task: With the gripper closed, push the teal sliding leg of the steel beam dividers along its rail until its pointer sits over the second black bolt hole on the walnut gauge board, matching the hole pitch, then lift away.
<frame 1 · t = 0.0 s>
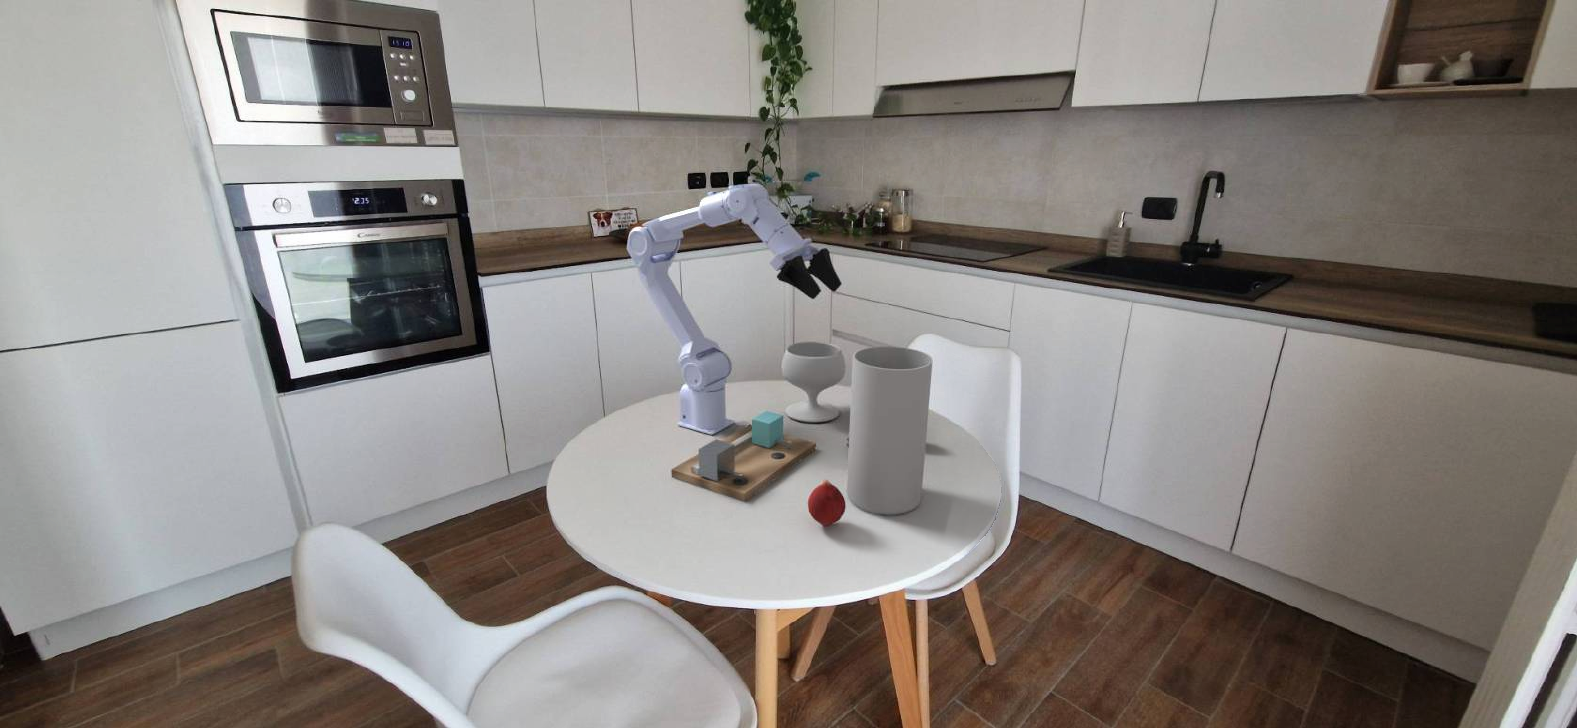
hand: (827, 291, 118), 32 cm above the table, tool tilted 50°, fingers open, 7 cm apart
sliding leg: (775, 431, 129), point 4 cm above the table, slide at 0.0 cm
gauge board: (746, 462, 125), on the table
fixed leg: (717, 481, 118), resting on gauge board
cylinder vase: (883, 498, 113), on the table
onion: (825, 526, 105), on the table
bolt: (884, 451, 132), on the table
chalice: (812, 414, 149), on the table
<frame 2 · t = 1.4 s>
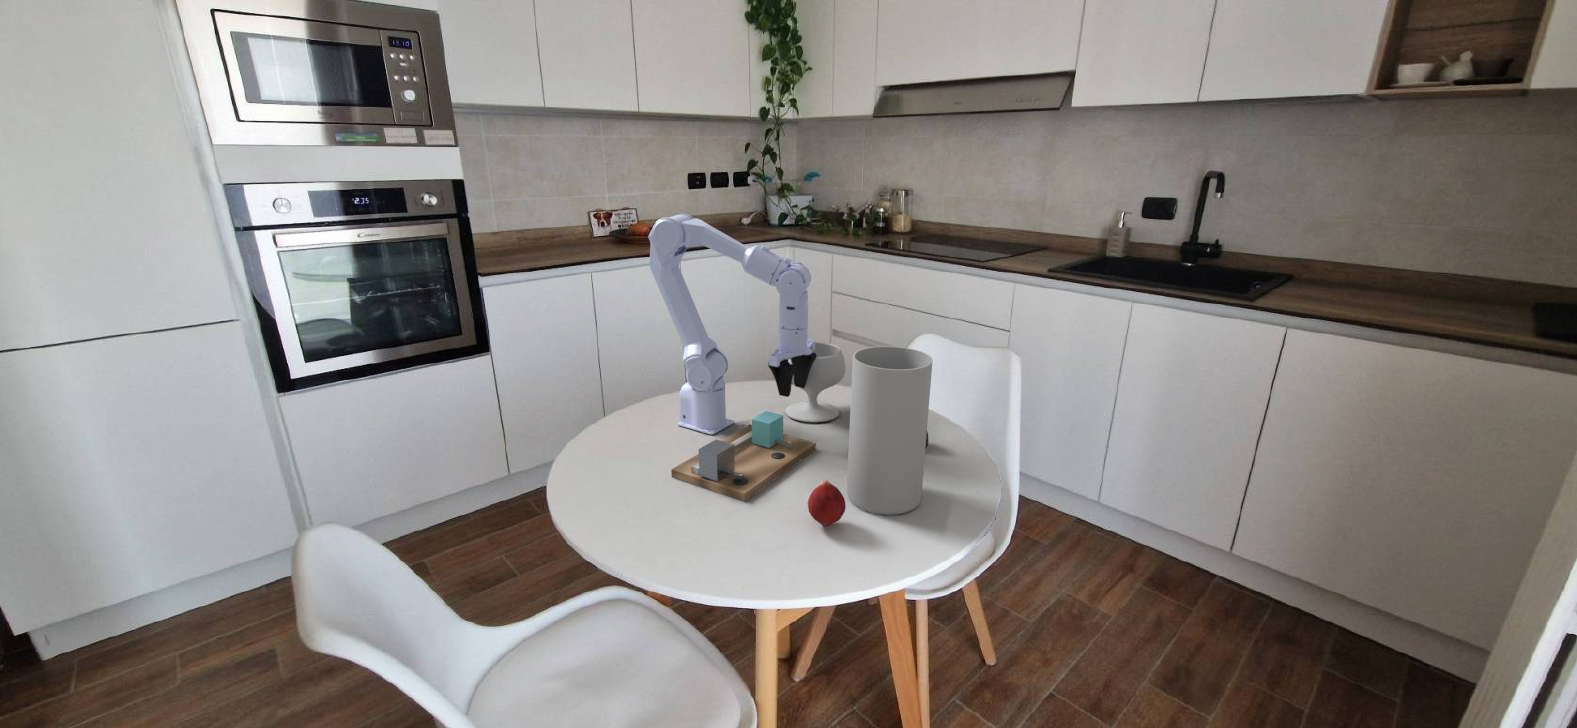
hand: (792, 391, 135), 9 cm above the table, tool pointing down, fingers open, 5 cm apart
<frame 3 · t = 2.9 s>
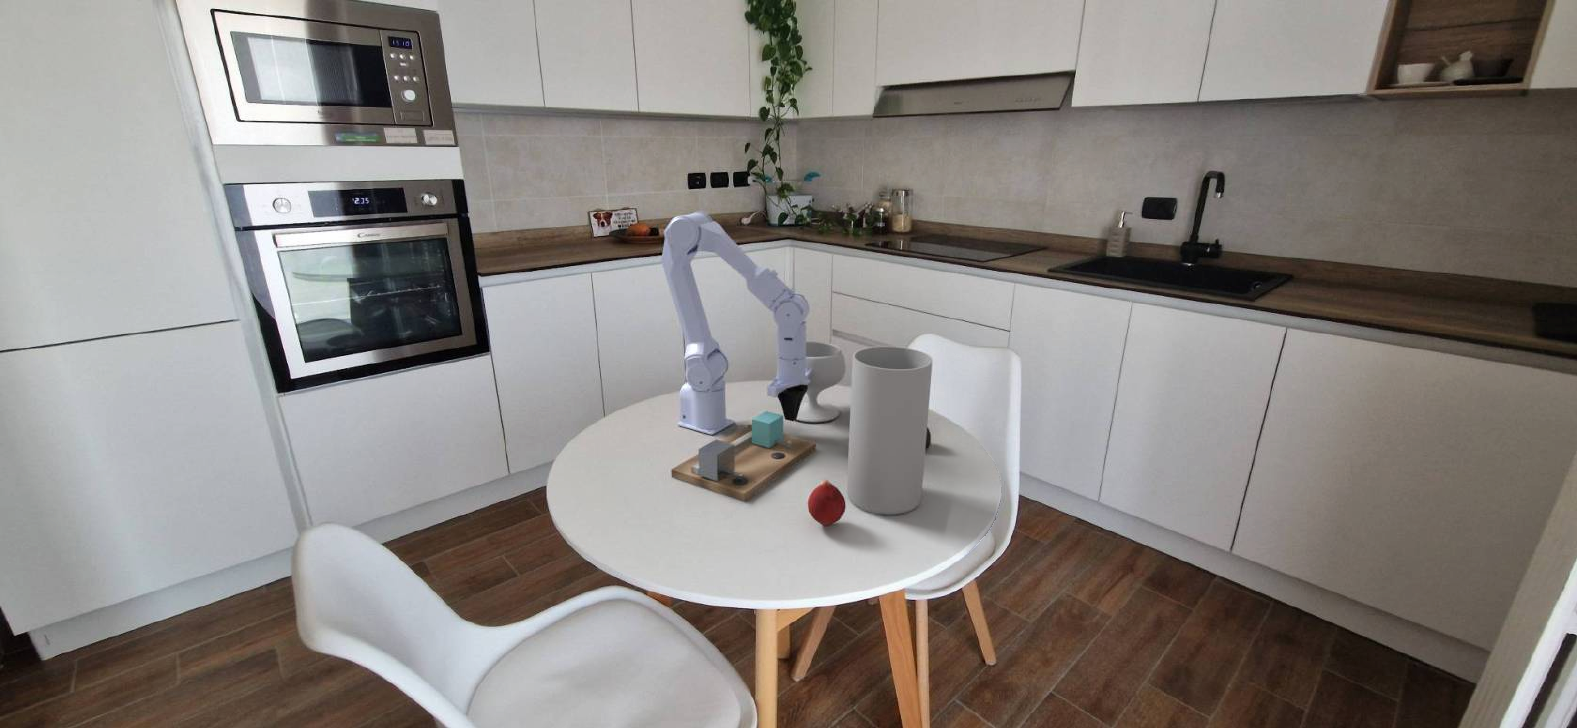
hand: (790, 419, 137), 3 cm above the table, tool pointing down, fingers closed
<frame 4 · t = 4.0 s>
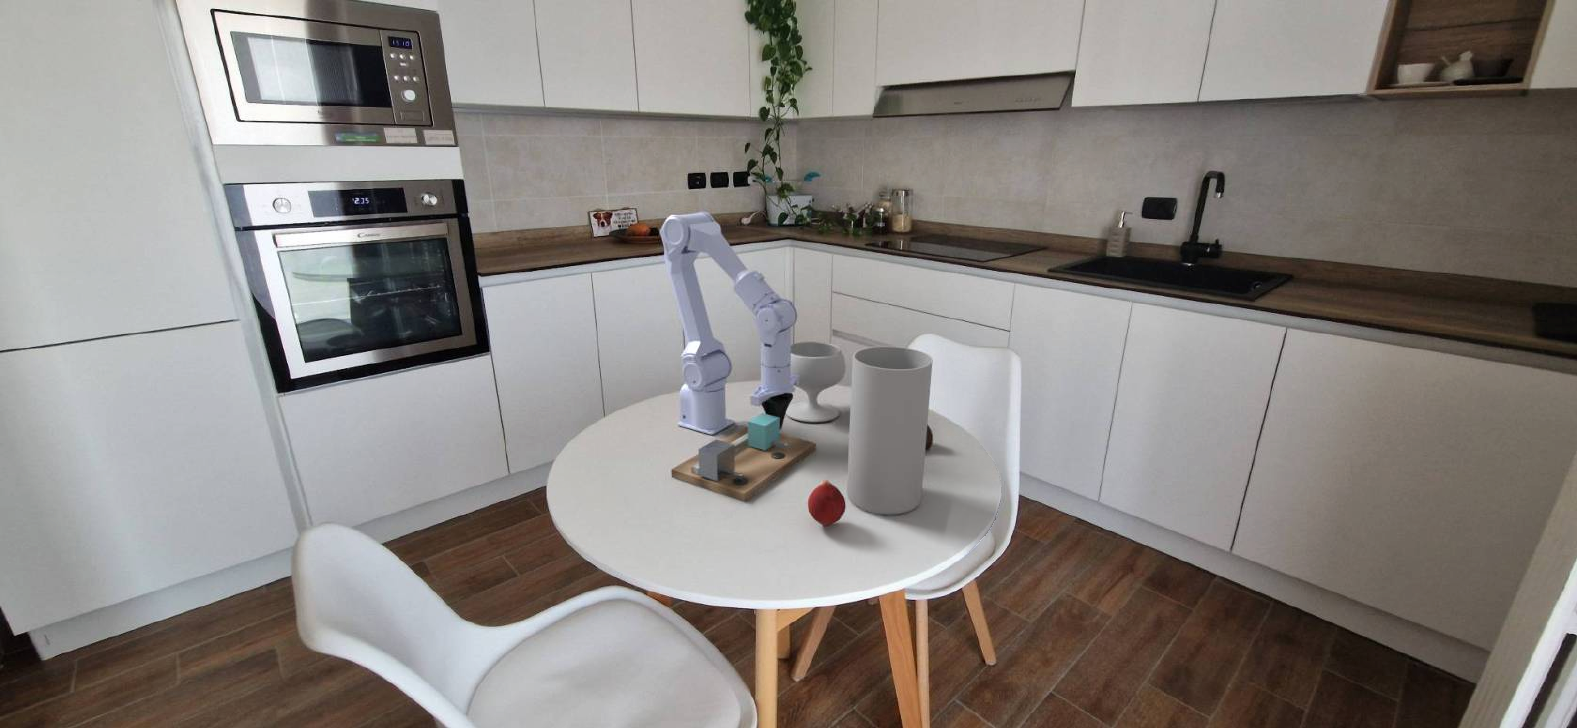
hand: (775, 428, 132), 3 cm above the table, tool pointing down, fingers closed
sliding leg: (771, 433, 127), point 4 cm above the table, slide at 1.3 cm, touching gripper
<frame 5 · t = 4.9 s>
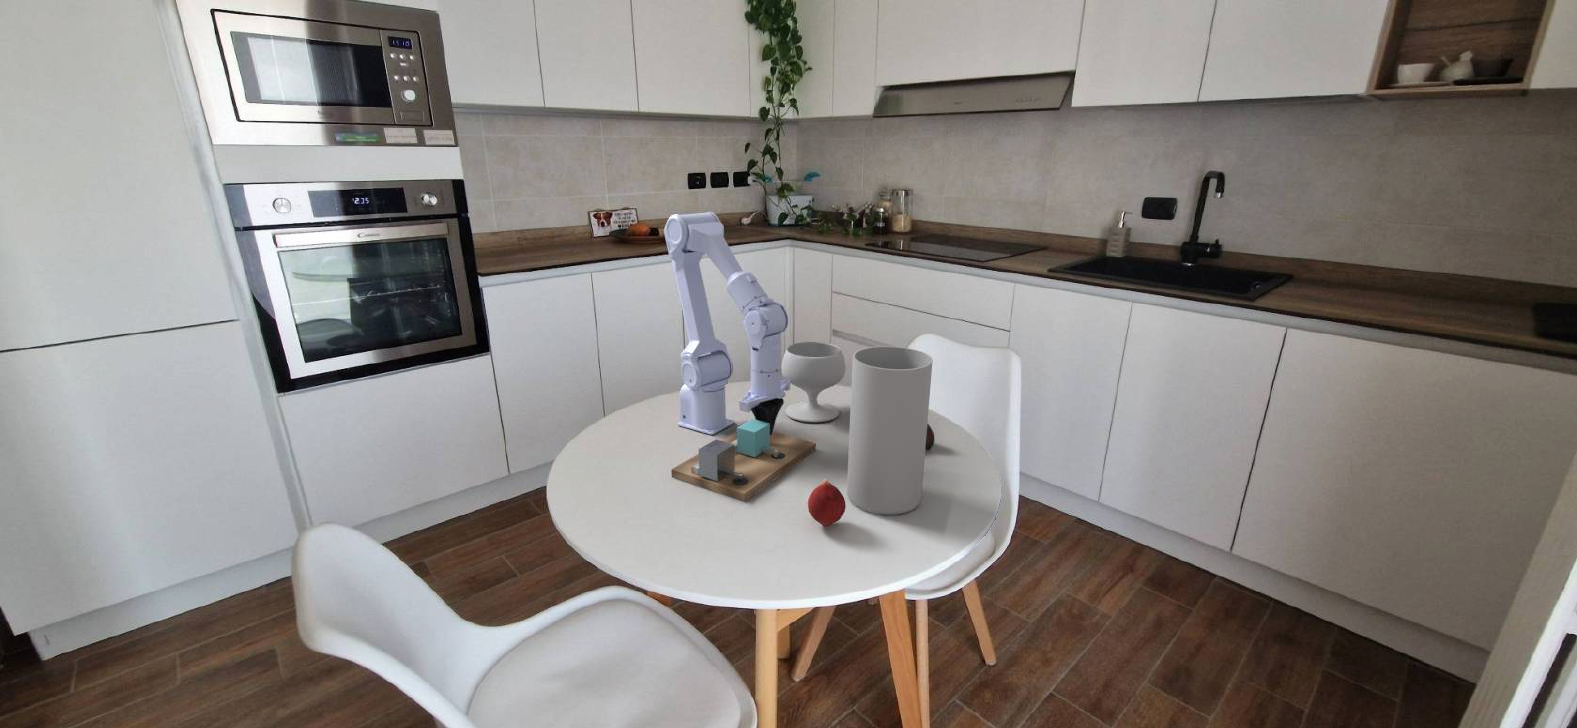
hand: (765, 434, 129), 3 cm above the table, tool pointing down, fingers closed
sliding leg: (761, 439, 125), point 4 cm above the table, slide at 4.8 cm, touching gripper
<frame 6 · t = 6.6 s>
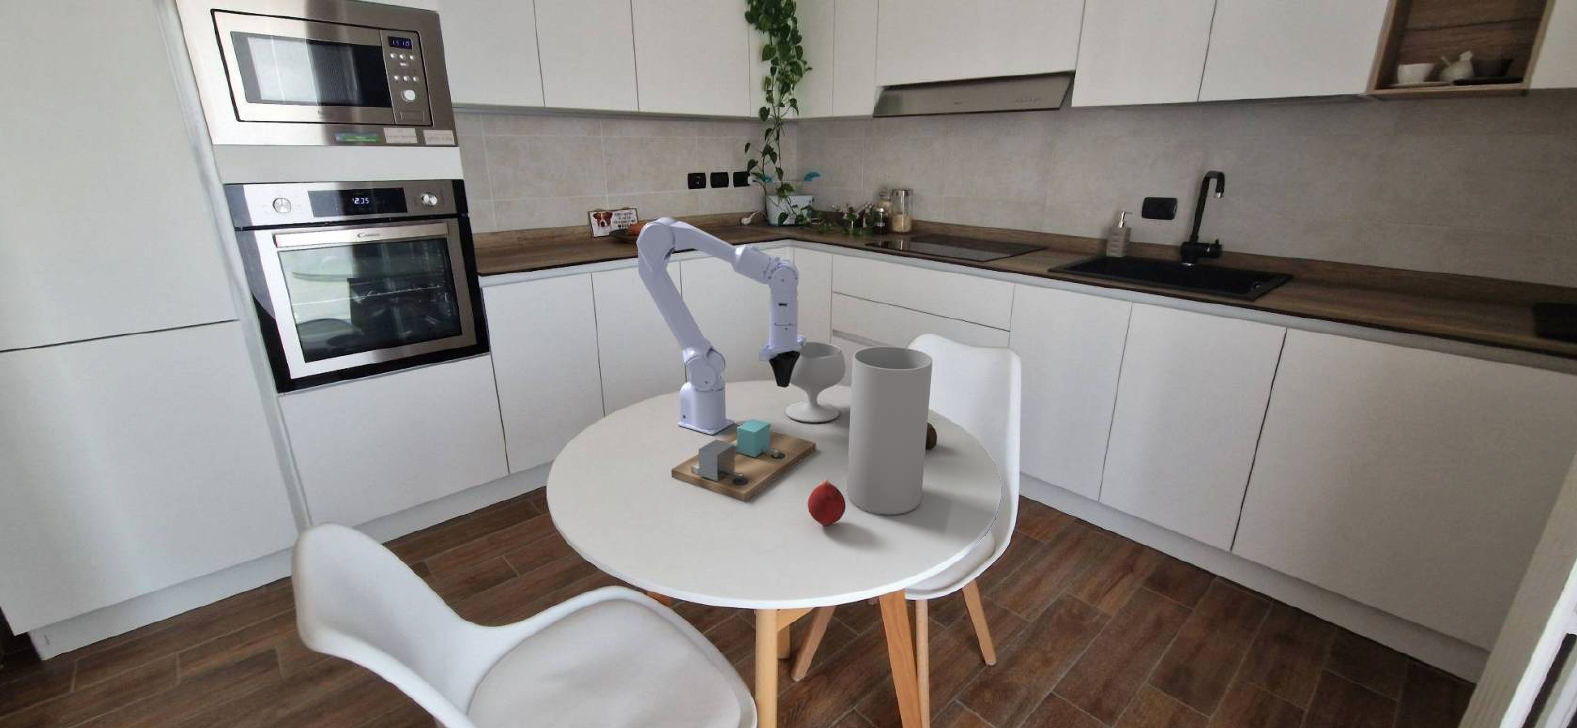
hand: (782, 386, 138), 9 cm above the table, tool pointing down, fingers closed
sliding leg: (761, 439, 125), point 4 cm above the table, slide at 4.8 cm
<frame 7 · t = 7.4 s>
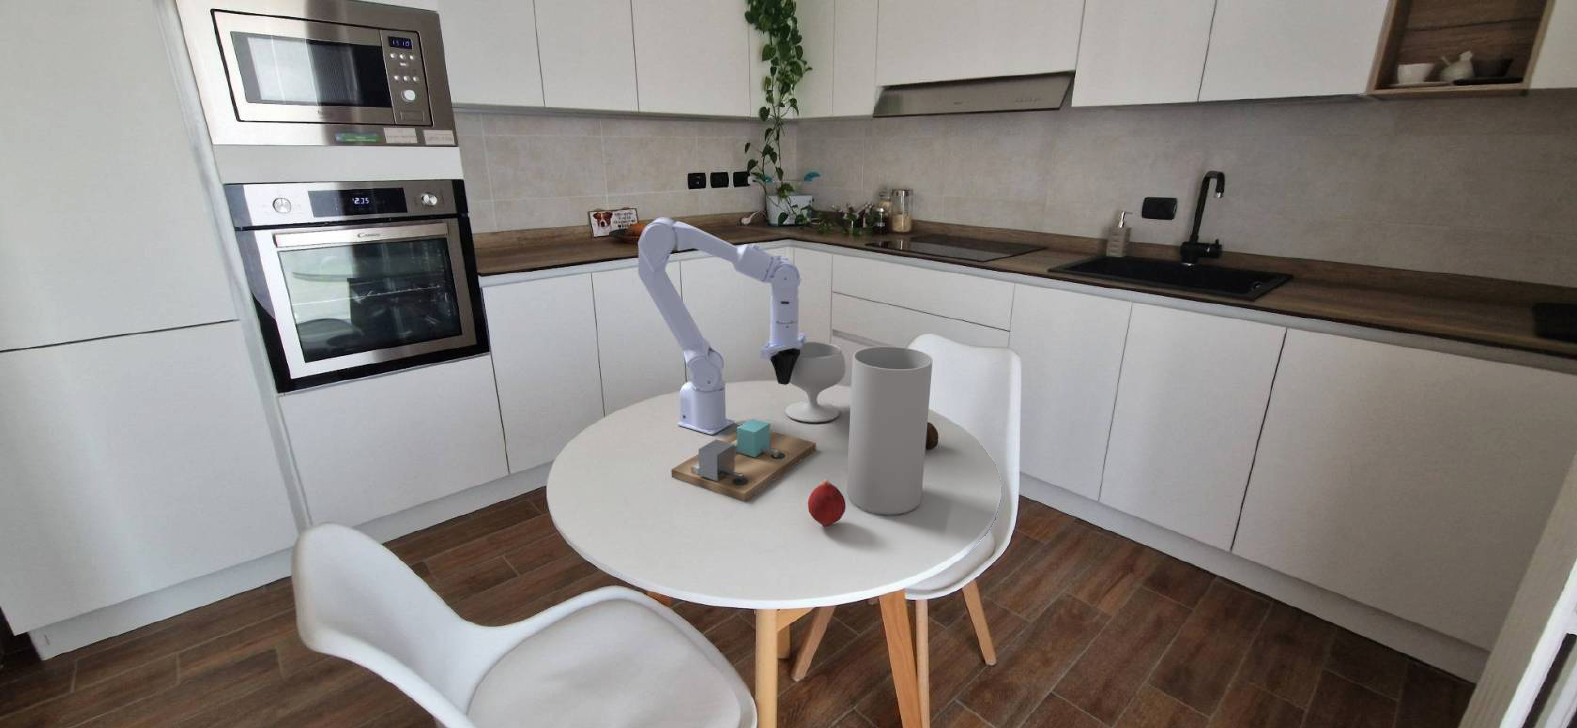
hand: (783, 383, 140), 9 cm above the table, tool pointing down, fingers closed
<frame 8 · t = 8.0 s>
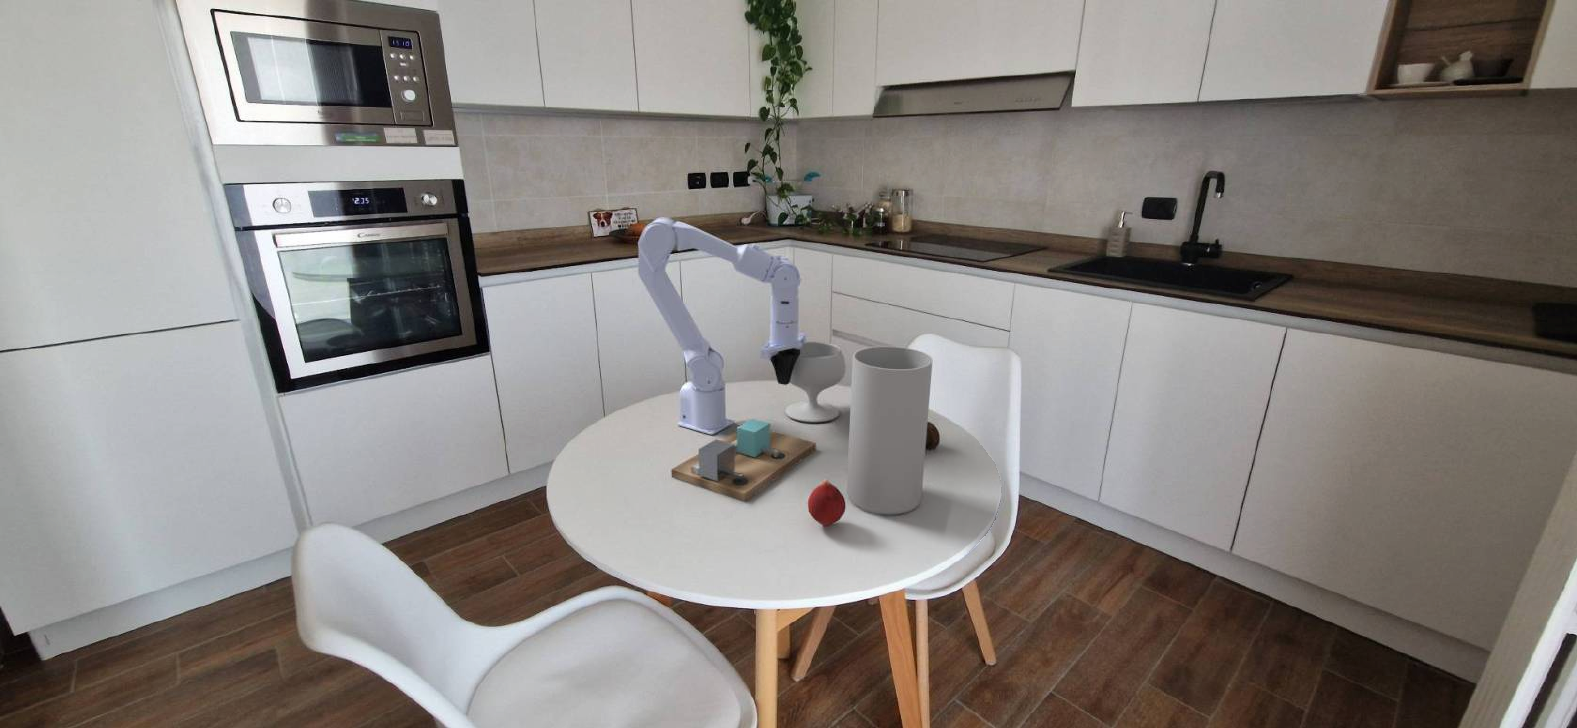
hand: (783, 383, 140), 9 cm above the table, tool pointing down, fingers closed
at the end: sliding leg slide at 4.8 cm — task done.
